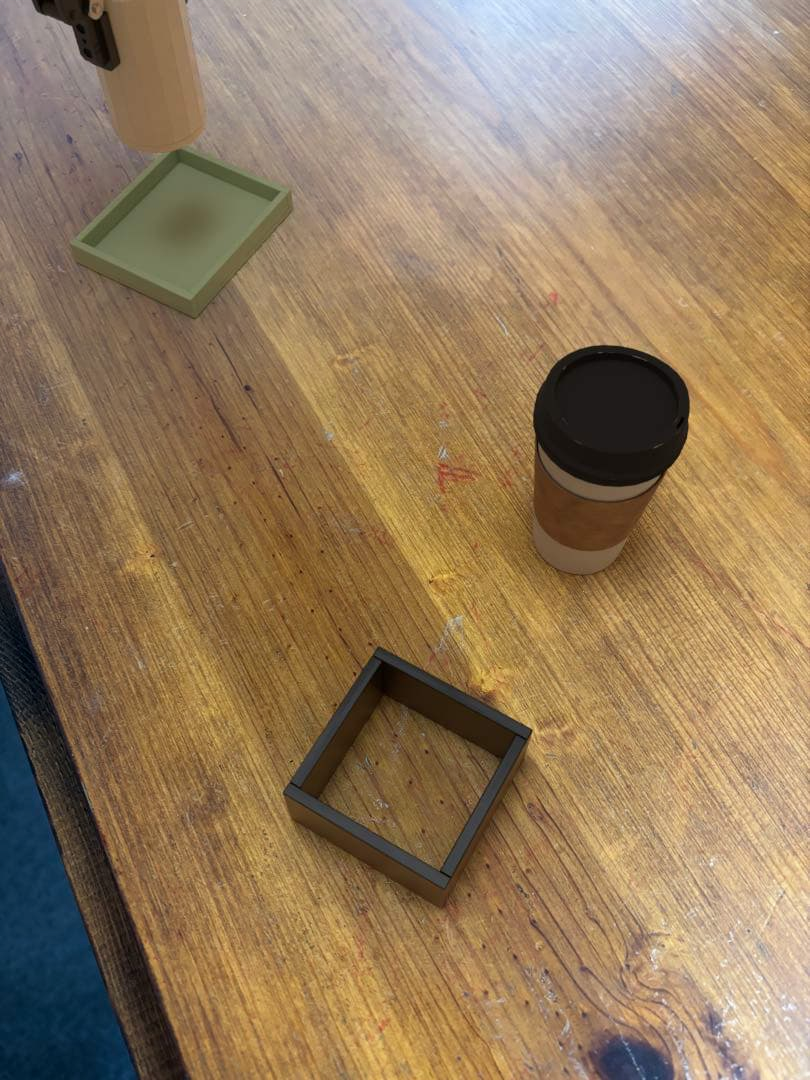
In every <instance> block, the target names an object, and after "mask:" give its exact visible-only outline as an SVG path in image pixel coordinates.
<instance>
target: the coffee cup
mask: <svg viewBox="0 0 810 1080" xmlns="http://www.w3.org/2000/svg"><path fill="white" fill-rule="evenodd" d="M533 408H534V409H533V412H532V426H533V430H534V434H535V436H534V459H533V460H534V462H533V463H534V465H533V467H534V468H533V470H534V471H533V511H532V527H531V528H532V534H531V535H532V540H533V544H534V546H535V549H536V551H537V552H538V555H540V556H541V558H542V559H543V560H544V561H545V562H546V563H547V564H548V565H550V566H552V567H553V568H555V569H556V570H559V571H561V572H564V573H567V574H572V575H582V576H583V575H592V574H595V573H597V572H601V571H602V570H605V569H606V568H608V567H610V565H612V564H613V563H614V562H615V561H616V560H617V558H618V557H619V556H620V554H621V552H622V550H623V548H624V546H625V544H626V543H627V541H628V539H629V537H630V535H631V533H632V532H633V531H634V529H635V527H636V525H637V524H638V522H639V521H640V519H641V517H642V515H643V514H644V512H645V511H646V509H647V507H648V505H649V503H650V502H651V500H652V498H653V497H654V495H655V493H656V491H657V490H658V488H659V487H660V485H661V483H662V481H663V480H664V478H665V476H666V474H667V472H668V470H669V469H670V468H671V467H673V465H674V464H675V463H676V461H677V460H678V459H679V457H680V455H681V452H682V451H683V449H684V446H685V444H686V442H687V439H688V434H689V427H690V425H689V418H690V413H691V398H690V393H689V388H688V386H687V384H686V382H685V380H684V379H683V378H682V376H681V375H680V374H679V373H678V372H677V371H676V370H675V369H674V368H673V367H672V366H671V365H669V364H668V363H666V362H665V361H663V360H662V359H660V358H658V357H656V356H654V355H651V354H650V353H648V352H646V351H642V350H639V349H636V348H633V347H627V346H622V345H613V344H599V345H597V344H596V345H589V346H585V347H582V348H578V349H576V350H573V351H571V352H569V353H567V354H565V356H563V357H561V358H560V359H558V361H556V363H555V364H554V365H553V366H552V367H551V368H550V370H549V371H548V374H547V376H546V378H545V380H544V381H543V382H542V383H541V386H540V387H539V389H538V391H537V393H536V397H535V400H534V407H533Z"/></svg>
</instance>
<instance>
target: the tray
mask: <svg viewBox="0 0 810 1080" xmlns="http://www.w3.org/2000/svg"><path fill="white" fill-rule="evenodd" d="M293 203H294V202H293V195H292V189H291V188H289V187H286V186H283V185H281V184H279V183H277V182H274V181H272V180H270V179H268V178H265V177H263V176H260V175H258V174H255V173H254V172H251V171H249V170H247V169H243V168H241V167H239V166H238V165H234V164H232V163H230V162H228V161H225V160H223V159H221V158H218V157H216V156H213V155H211V154H209V153H207V152H205V151H202V150H200V149H197V148H195V147H193V146H190V145H187V146H185V147H183V148H180V149H178V150H175V151H171V152H165V153H159V155H158V156H157V157H156V158H154V159H153V161H151V163H150V164H149V165H148V166H146V168H144V169H143V170H142V171H141V173H140V174H138V175H137V177H136V178H134V179H133V181H131V182H130V183H129V184H128V185H127V186H126V187H125V188H124V189H123V190H122V191H121V192H119V194H118V195H117V196H116V197H115V198H114V199H113V200H112V201H111V202H109V204H108V205H107V206H106V207H105V208H104V209H103V210H102V211H101V212H100V213H99V214H98V215H97V216H96V217H95V218H93V220H91V221H90V222H89V223H88V224H87V226H85V227H84V228H83V229H82V230H81V231H80V232H79V233H78V235H76V236H75V237H74V238H73V239H72V240H71V241H70V242H69V245H70V248H71V251H72V254H73V257H74V259H75V262H76V263H77V264H78V265H81V266H84V267H86V268H88V269H90V270H92V271H94V272H97V273H98V274H100V275H102V276H105V277H106V278H109V279H110V280H113V281H116V282H117V283H118V284H122V285H123V286H126V287H128V288H130V289H132V290H134V291H136V292H138V293H139V294H140V293H141V294H142V295H144V296H146V297H149V298H151V299H152V300H155V301H157V302H158V303H161V304H164V305H166V306H168V307H169V308H171V309H174V310H176V311H178V312H180V313H182V314H184V315H186V316H189V317H191V318H193V319H196V318H197V317H198V316H199V315H200V314H201V313H202V312H203V310H205V308H206V307H207V306H208V305H209V304H210V303H211V301H212V300H213V299H214V298H216V296H217V294H219V292H221V290H223V288H224V287H225V286H226V285H227V284H228V283H229V281H231V279H232V278H233V277H234V276H236V274H237V273H238V272H239V270H240V269H241V268H242V267H243V266H244V265H245V264H246V263H247V262H248V260H249V259H250V258H251V257H252V256H253V255H254V253H256V251H257V250H258V249H259V248H260V247H261V246H262V245H263V244H264V243H265V241H266V240H267V239H268V238H269V237H270V236H271V234H273V233H274V231H275V230H276V229H277V228H278V227H279V226H280V224H281V223H282V222H283V221H284V220H285V219H286V218H287V217H288V216H289V214H290V213H291V212H292V211H293V210H294V205H293Z"/></svg>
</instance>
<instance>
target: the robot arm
mask: <svg viewBox="0 0 810 1080" xmlns="http://www.w3.org/2000/svg"><path fill="white" fill-rule="evenodd" d="M185 2H186V5H187V4H188V2H189V1H188V0H185ZM31 3H32V5H33V7H34V9H35V11H36V12H37V13H38V14H40V15H43V16H46V17H50V18H52V19H55V20H56V21H59V22H62V23H63V24H65V25H67V26H69V27H71V28H72V31H73V34H74V38H75V40H76V41H75V42H76V45H77V48H78V51H79V55H80V56H81V57H82V58H83V60H84V61H86V62H89V63H90V64H92V65H94V66H95V65H96V66H98V67H100V68H103V69H105V70H108V71H113V70H114V69H115V68H116V67H117V66H118V65H120V58H119V54H118V50H117V47H116V43H115V39H114V35H113V31H112V28H111V24H110V20H109V16H108V12H106V11H103V10H104V0H31ZM96 66H95V67H96Z"/></svg>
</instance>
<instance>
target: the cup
mask: <svg viewBox="0 0 810 1080" xmlns="http://www.w3.org/2000/svg"><path fill="white" fill-rule="evenodd" d="M187 8H188V7H187V4H186V2H185V0H104V10H103V11H106V12H108V16H109V20H110V24H111V28H112V31H113V35H114V39H115V43H116V47H117V50H118V54H119V58H120V65H118V66H117V67H116V68H115V69H114V70H113V71H108V70H105V69H103V68H100V67H98V66H96V65H94V66H95V69H96V73H97V78H98V80H99V84H100V87H101V91H102V95H103V98H104V101H105V105H106V108H107V112H108V116H109V119H110V123H111V125H112V128H113V132H114V134H115V136H116V138H117V139H118V140H119V141H120V142H121V143H122V144H123V145H124V146H126V147H127V148H129V149H132V150H134V151H137V152H141V153H145V154H146V153H147V154H161V153H165V152H171V151H175V150H178V149H180V148H183V147H185V146H187V145H188V146H190V144H192V143H193V142H195V141H196V140H197V139H198V138H199V137H200V136H201V135H202V133H203V132H204V130H205V128H206V125H207V123H208V115H207V109H206V102H205V97H204V92H203V87H202V81H201V77H200V71H199V66H198V61H197V60H198V59H197V55H196V50H195V45H194V40H193V35H192V28H191V24H190V18H189V14H188V13H189V12H188V9H187Z"/></svg>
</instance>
